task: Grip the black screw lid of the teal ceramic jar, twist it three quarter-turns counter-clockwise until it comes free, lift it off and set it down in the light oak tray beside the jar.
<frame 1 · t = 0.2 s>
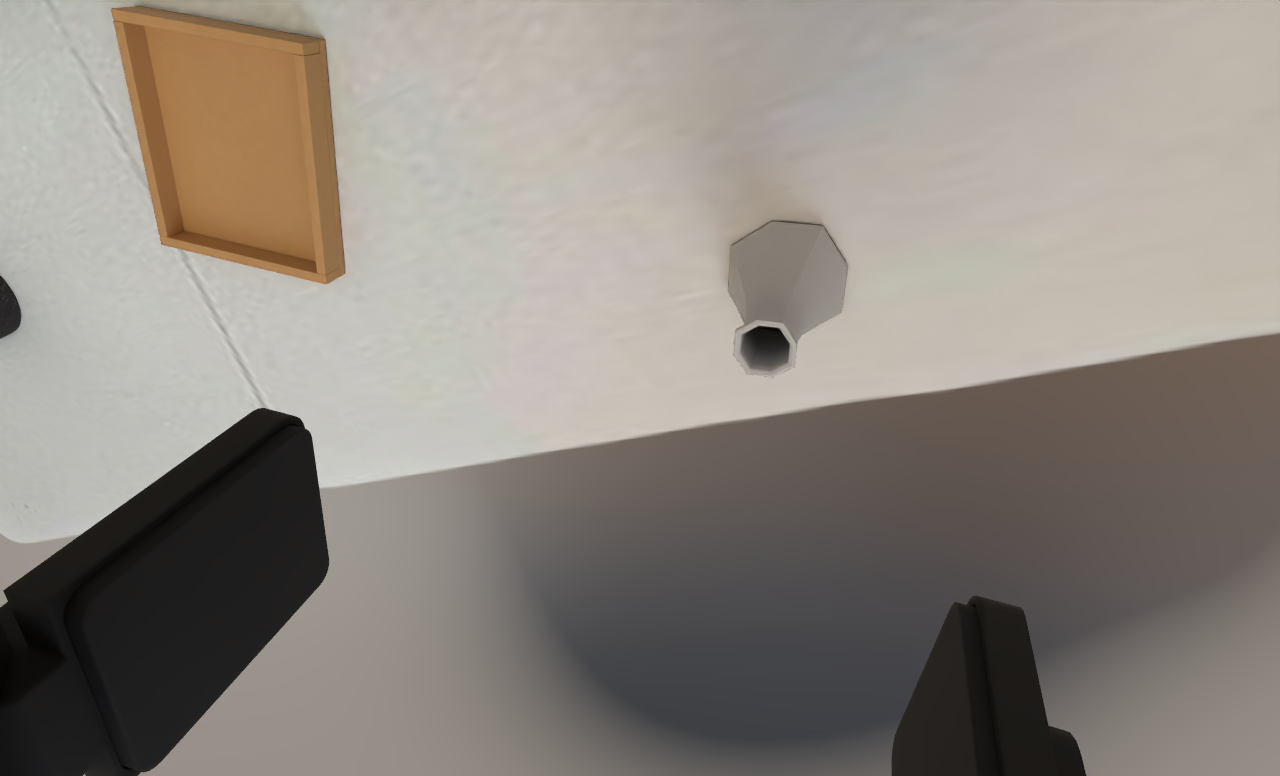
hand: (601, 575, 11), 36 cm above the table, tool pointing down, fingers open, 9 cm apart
flask: (787, 276, 46), on the table
tray: (247, 147, 52), on the table
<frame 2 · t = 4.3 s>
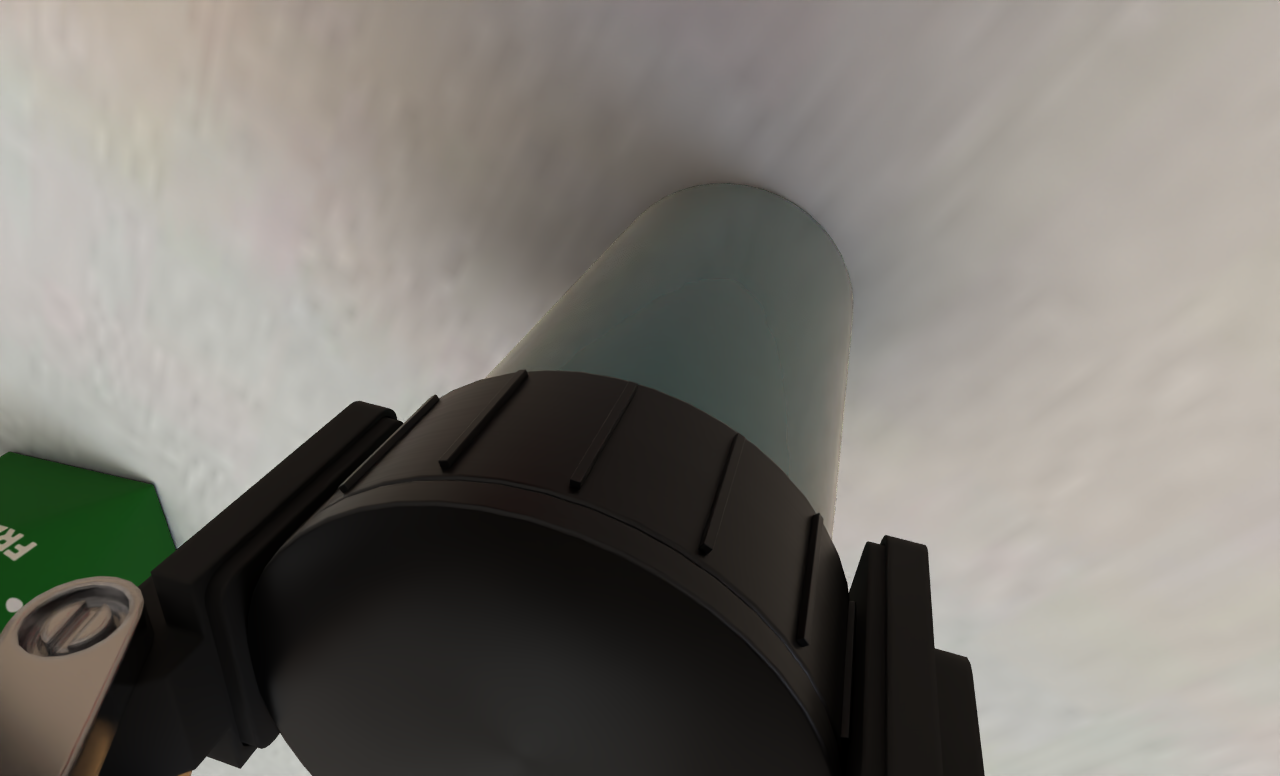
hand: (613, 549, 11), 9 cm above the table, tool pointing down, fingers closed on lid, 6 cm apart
jar: (725, 306, 19), on the table
milk carton: (113, 535, 32), on the table
lid: (532, 725, 9), point 12 cm above the table, screwed on, not yet turned, touching gripper
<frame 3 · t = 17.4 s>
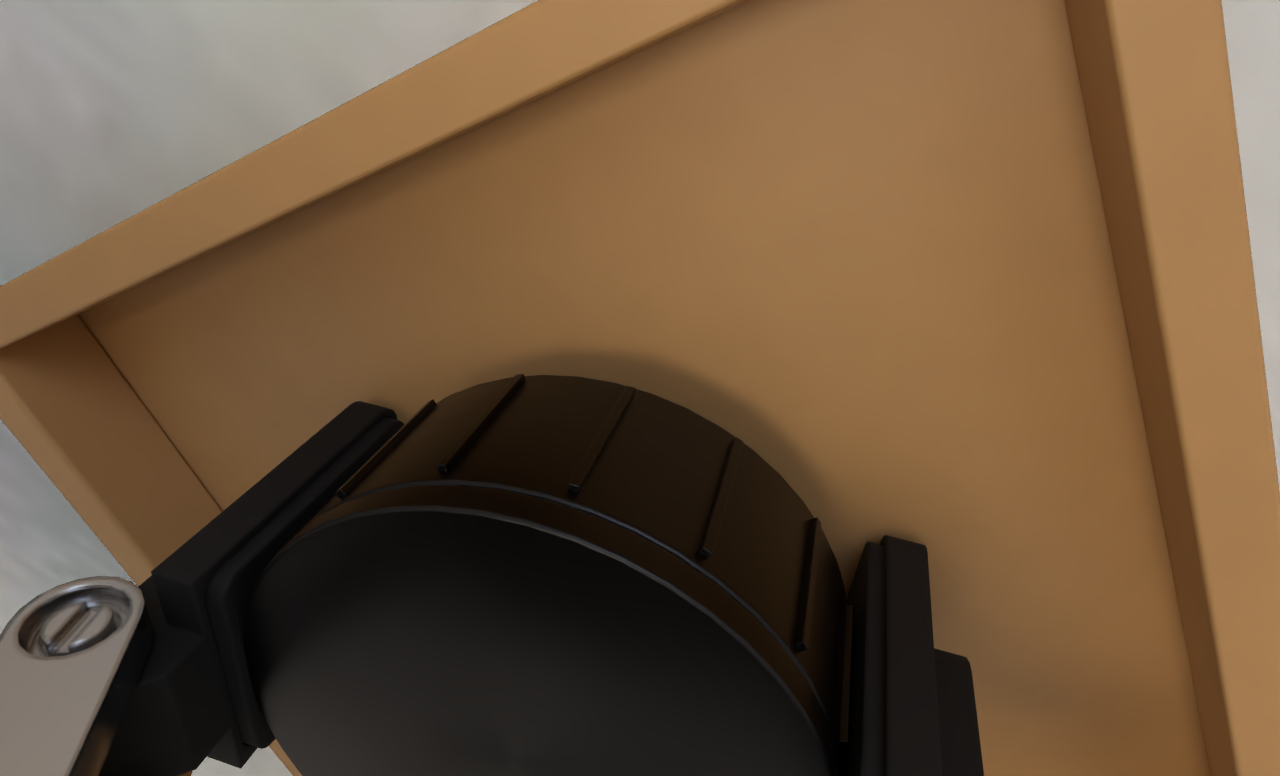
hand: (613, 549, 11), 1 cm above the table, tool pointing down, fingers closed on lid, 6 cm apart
lid: (530, 731, 9), point 4 cm above the table, off its thread, touching gripper
tray: (622, 514, 12), on the table
when the fingers open (2 cm above the table, at t = 29.8 s): lid drops 3 cm, resting on tray.
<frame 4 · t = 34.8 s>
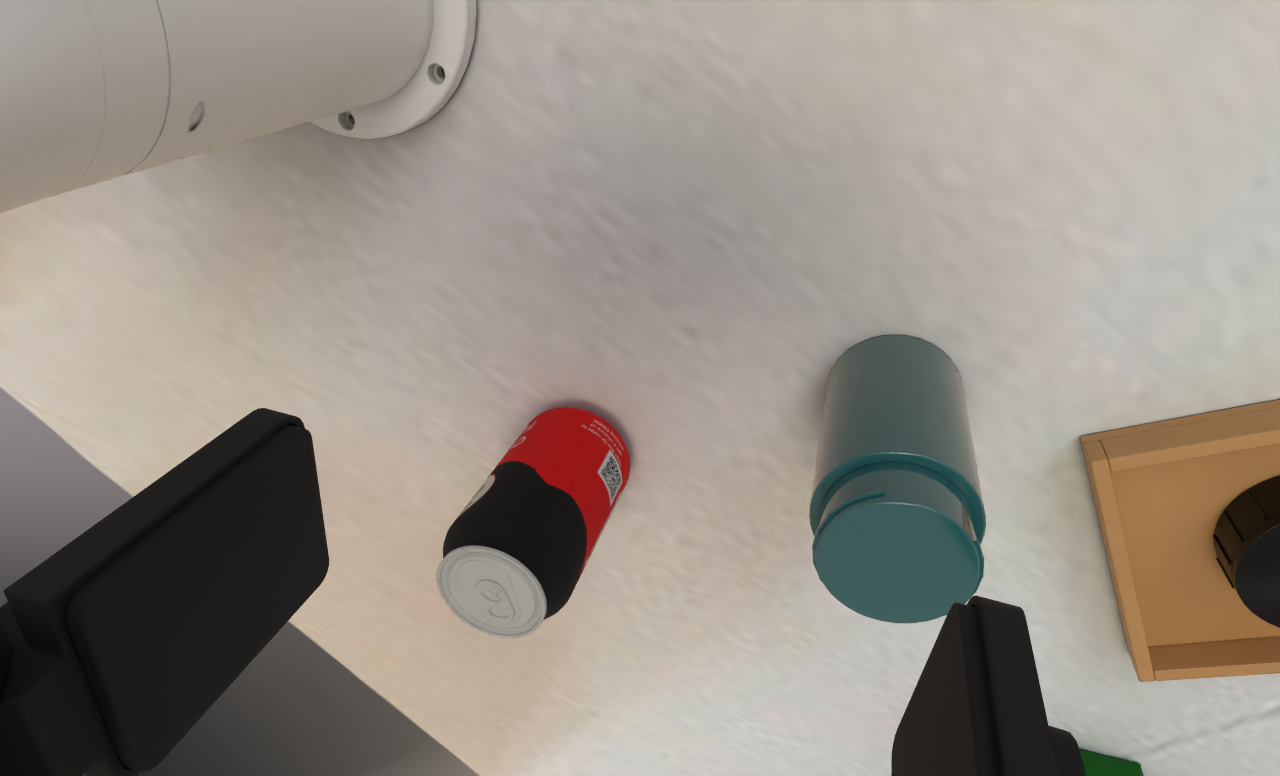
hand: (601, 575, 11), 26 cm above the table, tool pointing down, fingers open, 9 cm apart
jar: (892, 393, 37), on the table
beverage can: (582, 445, 44), on the table
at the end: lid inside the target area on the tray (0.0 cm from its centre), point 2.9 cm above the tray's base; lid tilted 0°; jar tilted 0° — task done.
